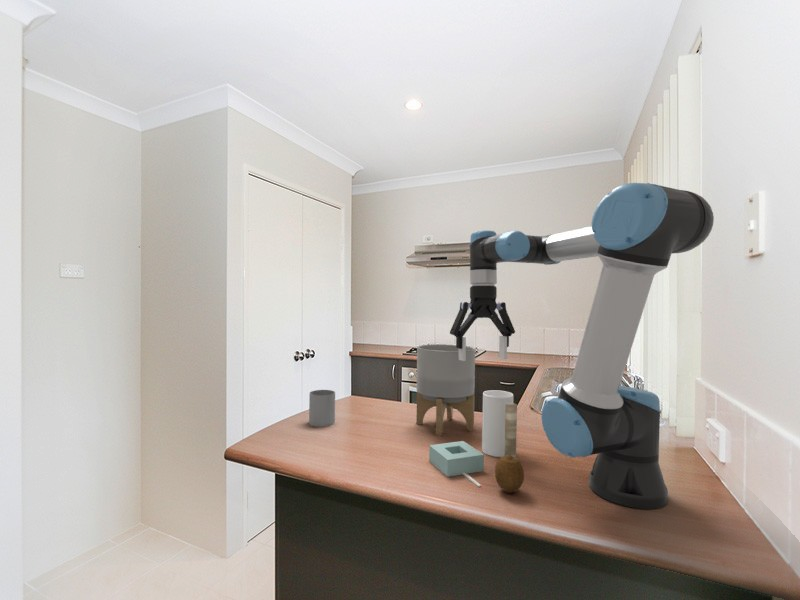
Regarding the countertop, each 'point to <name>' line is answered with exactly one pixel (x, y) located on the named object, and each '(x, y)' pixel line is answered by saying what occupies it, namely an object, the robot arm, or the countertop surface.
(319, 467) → the countertop surface
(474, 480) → the cream stick
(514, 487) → the fruit
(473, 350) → the planter
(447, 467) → the bead
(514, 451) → the beige wooden dowel
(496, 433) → the cup
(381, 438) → the countertop surface
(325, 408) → the cup
